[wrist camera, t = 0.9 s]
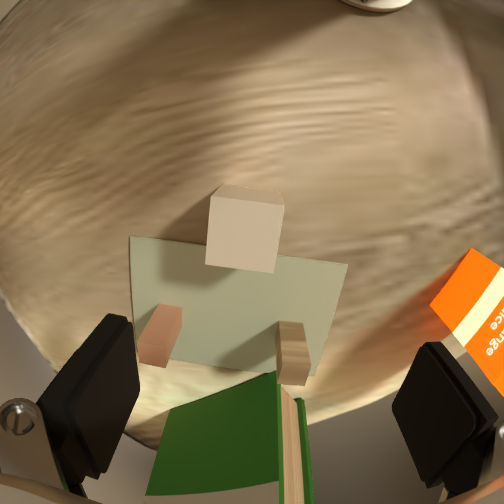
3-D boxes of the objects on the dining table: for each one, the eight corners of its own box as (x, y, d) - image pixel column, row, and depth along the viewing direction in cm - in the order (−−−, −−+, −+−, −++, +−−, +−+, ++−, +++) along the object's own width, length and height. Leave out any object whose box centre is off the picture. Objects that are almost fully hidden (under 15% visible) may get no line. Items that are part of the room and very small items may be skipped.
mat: (131, 235, 29) (130, 236, 28) (346, 263, 29) (347, 265, 29) (138, 349, 34) (137, 351, 34) (313, 373, 34) (314, 376, 34)
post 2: (279, 320, 31) (282, 363, 25) (302, 322, 31) (311, 366, 25) (274, 339, 32) (277, 383, 26) (297, 341, 32) (304, 385, 26)
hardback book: (276, 369, 34) (278, 568, 11) (304, 401, 36) (318, 569, 14) (170, 409, 38) (129, 554, 16) (202, 434, 40) (178, 569, 18)
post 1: (159, 303, 31) (136, 341, 24) (182, 307, 31) (164, 347, 25) (159, 322, 32) (139, 362, 25) (181, 326, 32) (165, 368, 25)
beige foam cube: (222, 183, 27) (210, 196, 21) (279, 191, 27) (284, 205, 21) (217, 237, 29) (205, 264, 22) (271, 244, 29) (273, 273, 23)
